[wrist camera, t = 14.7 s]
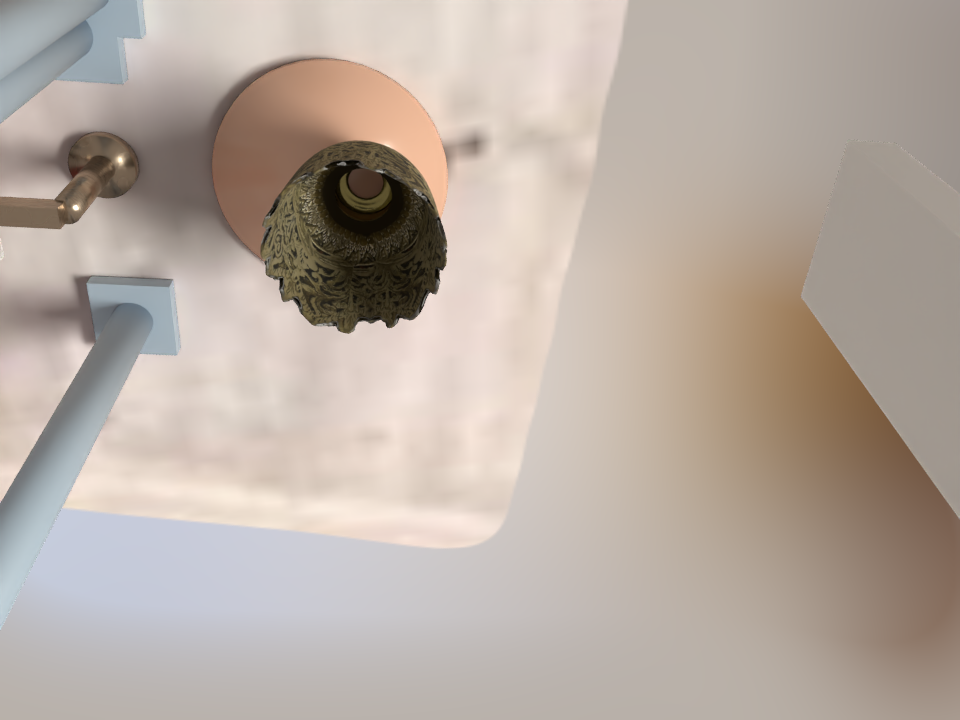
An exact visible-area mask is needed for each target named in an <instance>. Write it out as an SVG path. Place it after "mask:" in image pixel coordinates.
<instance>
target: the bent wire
mask: <svg viewBox="0 0 960 720" xmlns="http://www.w3.org/2000/svg"><path fill="white" fill-rule="evenodd" d="M68 166H69V170H70V173H71V175H72V177H73V179H72V180H71V182H70V183H69V184H68V185H67V186H66V187H65V188H64V190H63V191H62V192H61V193H60V194H59V195H58V196H57V197H56V199H55V200H53V199H34V198H16V197H0V226H10V227H29V228H48V229H61V228H62V227H63V226H64V225H65V224H73V223H75V222H77V221H78V220H79V219H80V218H81V216H82V215H83V214H84V213H85V211H86V210H87V209H88V207H89V206H90V205H91V204H92V202H93V201H94V200H95V199H96V197H102V198H115V197H119V196H121V195H123V194H125V193H126V192H127V191H128V190H129V189H130V188H131V187H132V185H133V184H134V183H135V181H136V179H137V177H138V173H139V164H138V160H137V157H136V155H135V153H134V151H133V149H132V148H131V147H130V146H129V145H128V144H127V143H126V142H125V141H124V140H123V139H121V138H119V137H118V136H116V135H113V134H110V133H106V132H92V133H89V134H86V135H84V136H83V137H81V138H80V139H79V140H78V141H77V142H76V143H75V144H74V146H73V147H72V148H71V150H70V153H69V157H68Z"/></svg>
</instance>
